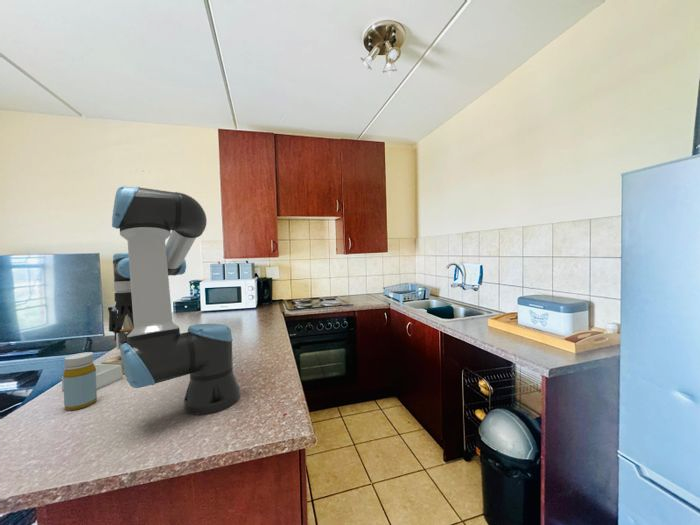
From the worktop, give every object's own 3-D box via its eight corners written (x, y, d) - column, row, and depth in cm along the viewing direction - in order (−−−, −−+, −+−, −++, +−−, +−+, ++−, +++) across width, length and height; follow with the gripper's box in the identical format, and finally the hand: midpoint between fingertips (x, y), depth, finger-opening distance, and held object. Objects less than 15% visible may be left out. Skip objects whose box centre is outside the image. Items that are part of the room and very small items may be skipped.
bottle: (94, 396, 89) (92, 350, 88) (98, 403, 84) (96, 354, 84) (63, 406, 83) (61, 356, 83) (66, 414, 79) (63, 361, 78)
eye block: (127, 374, 105) (127, 363, 105) (101, 372, 107) (101, 362, 107) (155, 362, 117) (154, 353, 117) (130, 361, 119) (130, 352, 119)
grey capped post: (142, 364, 115) (140, 327, 115) (131, 370, 109) (129, 331, 109) (127, 364, 115) (126, 327, 115) (115, 370, 109) (114, 331, 109)
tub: (89, 393, 91) (89, 378, 91) (62, 391, 93) (61, 376, 93) (122, 378, 102) (121, 365, 102) (97, 377, 104) (96, 363, 104)
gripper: (156, 289, 116) (158, 344, 116) (110, 290, 115) (113, 345, 116) (143, 291, 108) (145, 350, 109) (94, 293, 108) (96, 352, 108)
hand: (128, 348), depth 112 cm, fingers closed on grey capped post, 6 cm apart
